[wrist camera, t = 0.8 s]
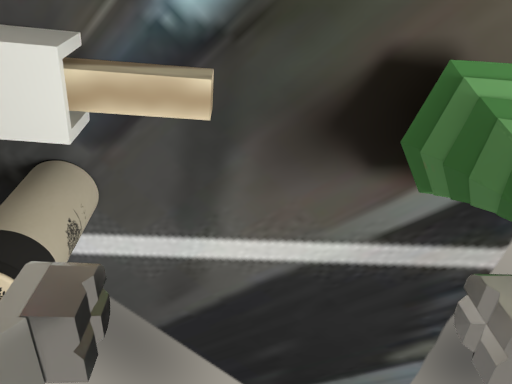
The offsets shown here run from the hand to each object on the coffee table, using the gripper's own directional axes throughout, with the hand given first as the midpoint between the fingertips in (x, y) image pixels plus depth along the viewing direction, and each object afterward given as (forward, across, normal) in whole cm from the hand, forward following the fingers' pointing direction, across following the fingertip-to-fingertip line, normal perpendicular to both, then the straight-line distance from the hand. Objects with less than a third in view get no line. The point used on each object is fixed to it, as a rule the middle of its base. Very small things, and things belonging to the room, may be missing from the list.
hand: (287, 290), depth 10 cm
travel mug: (+37, +21, +19) cm, 46 cm away
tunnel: (+36, +20, +6) cm, 42 cm away
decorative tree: (+36, -21, +7) cm, 43 cm away
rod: (+36, +13, +6) cm, 39 cm away
